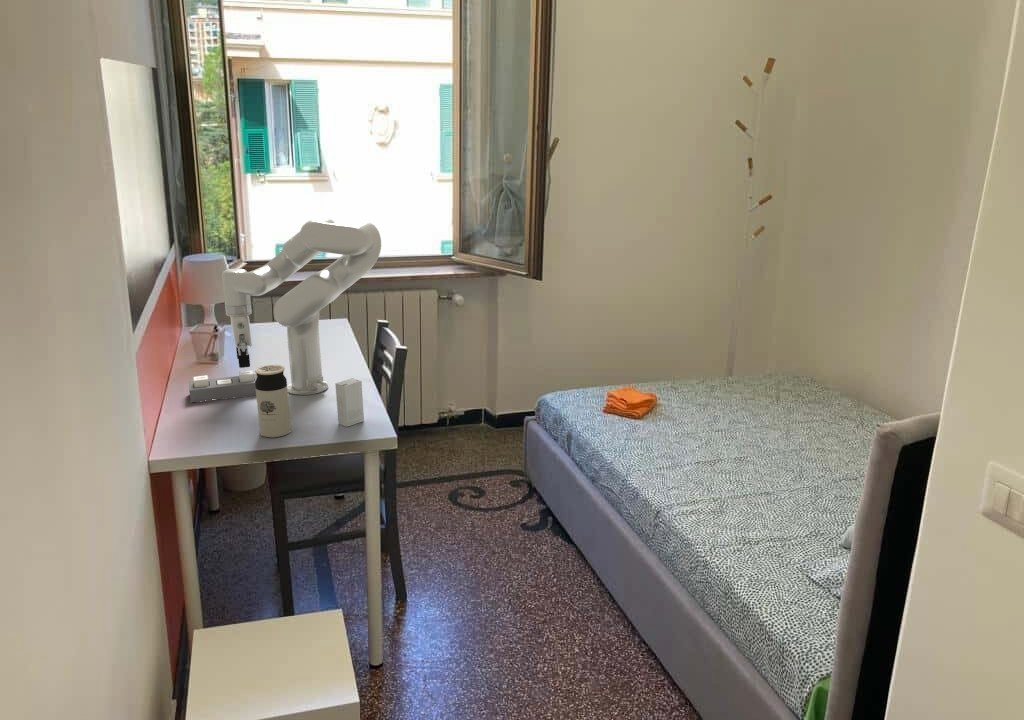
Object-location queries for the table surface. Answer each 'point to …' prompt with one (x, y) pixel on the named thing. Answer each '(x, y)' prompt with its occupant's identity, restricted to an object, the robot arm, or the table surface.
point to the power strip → (222, 389)
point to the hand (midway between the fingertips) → (243, 362)
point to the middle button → (224, 381)
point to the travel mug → (272, 401)
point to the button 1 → (201, 381)
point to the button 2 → (246, 376)
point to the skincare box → (349, 402)
